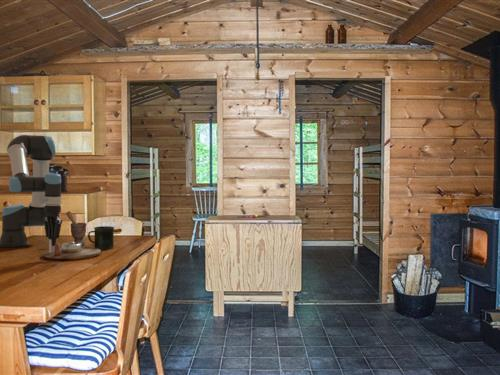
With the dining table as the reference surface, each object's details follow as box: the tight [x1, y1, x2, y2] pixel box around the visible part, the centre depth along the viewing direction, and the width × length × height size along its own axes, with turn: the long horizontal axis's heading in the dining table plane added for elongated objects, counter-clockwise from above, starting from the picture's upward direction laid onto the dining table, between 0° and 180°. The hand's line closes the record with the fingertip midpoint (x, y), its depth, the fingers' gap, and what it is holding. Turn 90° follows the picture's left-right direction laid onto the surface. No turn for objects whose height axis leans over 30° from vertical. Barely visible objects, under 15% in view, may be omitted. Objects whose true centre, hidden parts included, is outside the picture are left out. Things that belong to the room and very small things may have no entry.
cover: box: [60, 241, 83, 253], centre depth 234 cm, size 10×10×5 cm
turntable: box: [42, 242, 102, 260], centre depth 233 cm, size 28×28×7 cm
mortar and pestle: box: [65, 211, 87, 247], centre depth 264 cm, size 12×9×20 cm
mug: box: [87, 225, 115, 250], centre depth 256 cm, size 11×15×12 cm
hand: (52, 251), depth 223 cm, fingers closed
